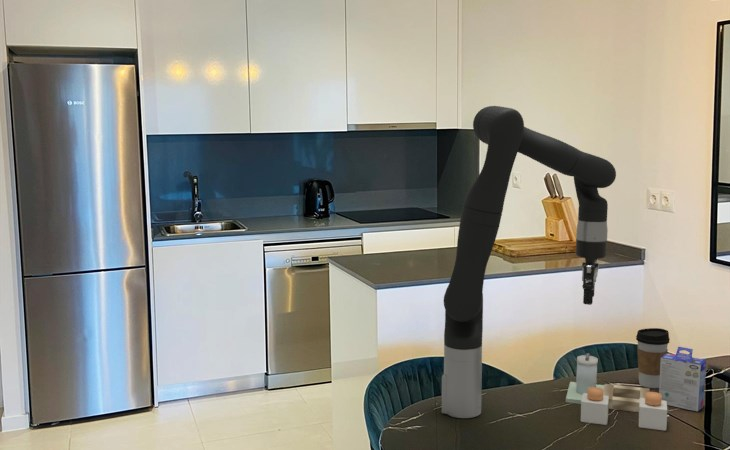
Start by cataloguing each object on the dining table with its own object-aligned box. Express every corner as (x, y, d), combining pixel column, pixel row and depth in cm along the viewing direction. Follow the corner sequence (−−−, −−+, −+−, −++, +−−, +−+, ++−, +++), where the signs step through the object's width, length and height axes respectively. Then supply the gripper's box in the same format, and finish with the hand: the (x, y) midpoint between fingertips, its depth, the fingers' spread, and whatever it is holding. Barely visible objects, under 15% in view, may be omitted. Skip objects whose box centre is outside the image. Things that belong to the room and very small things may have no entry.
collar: (602, 408, 184) (602, 398, 184) (604, 392, 194) (604, 383, 194) (649, 413, 180) (650, 403, 180) (649, 397, 191) (649, 388, 190)
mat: (565, 402, 188) (565, 398, 188) (570, 385, 200) (570, 381, 200) (602, 406, 185) (602, 402, 185) (604, 388, 197) (605, 385, 197)
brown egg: (644, 420, 173) (645, 396, 172) (644, 415, 176) (645, 391, 176) (660, 422, 172) (662, 398, 171) (660, 416, 175) (661, 392, 174)
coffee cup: (672, 389, 196) (675, 335, 194) (640, 390, 196) (642, 335, 194) (660, 379, 204) (662, 326, 202) (629, 379, 204) (631, 326, 202)
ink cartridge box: (704, 405, 185) (707, 350, 183) (699, 412, 181) (702, 355, 179) (663, 397, 191) (666, 343, 189) (657, 404, 187) (660, 348, 185)
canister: (595, 396, 189) (597, 359, 188) (574, 393, 191) (576, 357, 190) (596, 389, 194) (598, 353, 193) (576, 387, 196) (577, 351, 194)
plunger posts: (580, 421, 176) (581, 401, 175) (582, 410, 183) (583, 391, 182) (666, 432, 169) (667, 411, 169) (665, 420, 176) (666, 400, 175)
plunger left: (586, 415, 177) (587, 391, 176) (587, 409, 180) (588, 386, 179) (602, 417, 175) (603, 393, 174) (602, 411, 179) (603, 388, 178)
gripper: (606, 243, 179) (602, 308, 182) (608, 234, 193) (605, 295, 195) (574, 241, 182) (571, 305, 184) (578, 233, 195) (575, 293, 197)
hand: (588, 300), depth 190 cm, fingers open, 8 cm apart
